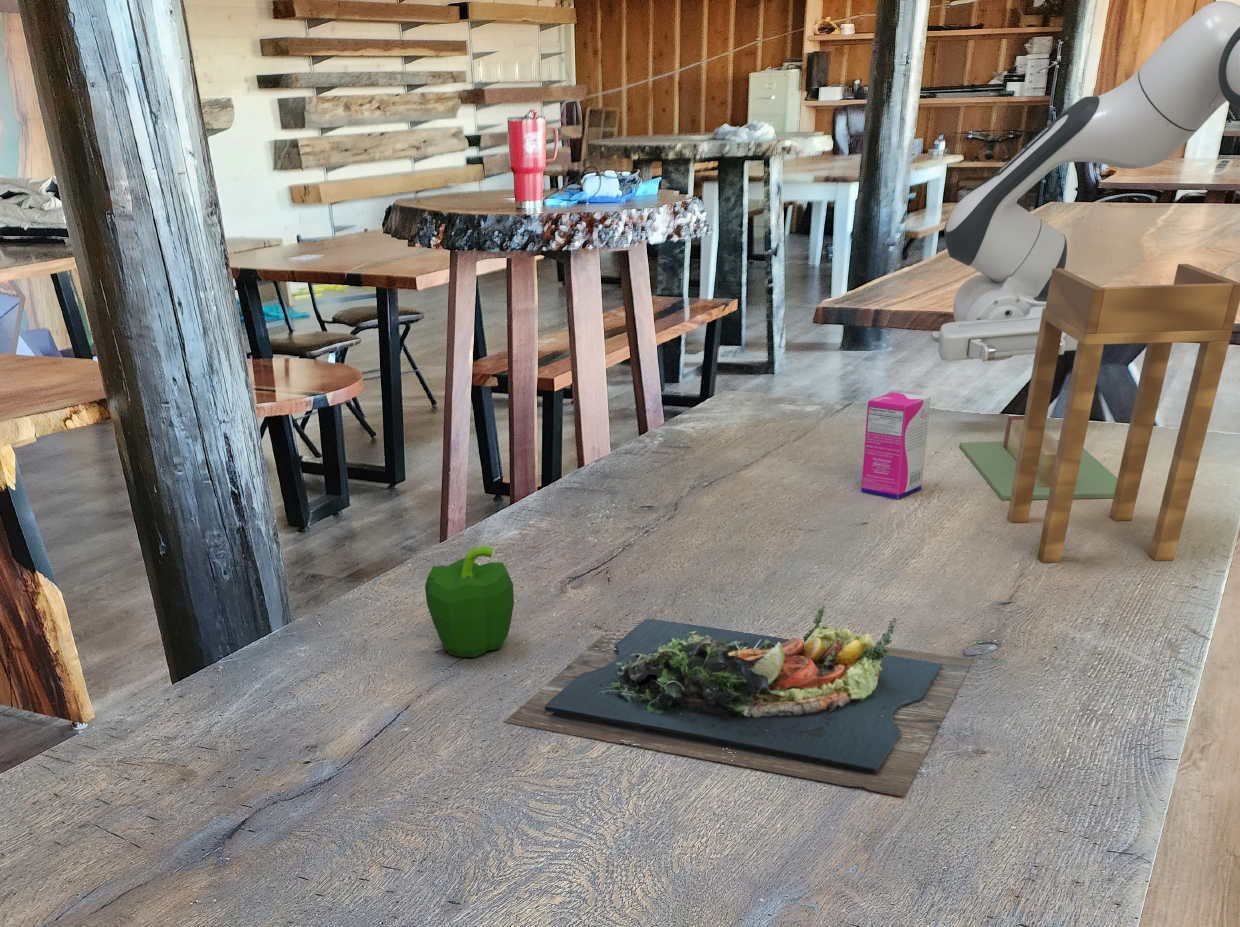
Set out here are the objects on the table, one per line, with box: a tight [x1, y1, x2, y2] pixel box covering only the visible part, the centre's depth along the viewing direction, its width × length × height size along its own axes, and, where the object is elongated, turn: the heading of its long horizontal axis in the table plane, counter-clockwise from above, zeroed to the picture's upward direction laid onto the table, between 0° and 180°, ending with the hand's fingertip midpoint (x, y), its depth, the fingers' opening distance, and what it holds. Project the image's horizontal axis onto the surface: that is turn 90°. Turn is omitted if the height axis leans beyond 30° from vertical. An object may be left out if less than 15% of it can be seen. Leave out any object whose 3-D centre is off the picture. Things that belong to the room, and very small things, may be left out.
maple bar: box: [1003, 415, 1059, 487], centre depth 156 cm, size 3×20×4 cm, turn 176°
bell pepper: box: [424, 545, 515, 658], centre depth 112 cm, size 8×8×10 cm
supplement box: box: [860, 391, 932, 500], centre depth 149 cm, size 6×6×12 cm
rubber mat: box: [959, 439, 1118, 501], centre depth 157 cm, size 16×26×1 cm, turn 176°
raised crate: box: [1006, 263, 1240, 563], centre depth 127 cm, size 14×16×27 cm
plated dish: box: [503, 604, 974, 798], centre depth 103 cm, size 35×28×7 cm
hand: (1024, 351), depth 163 cm, fingers open, 8 cm apart
